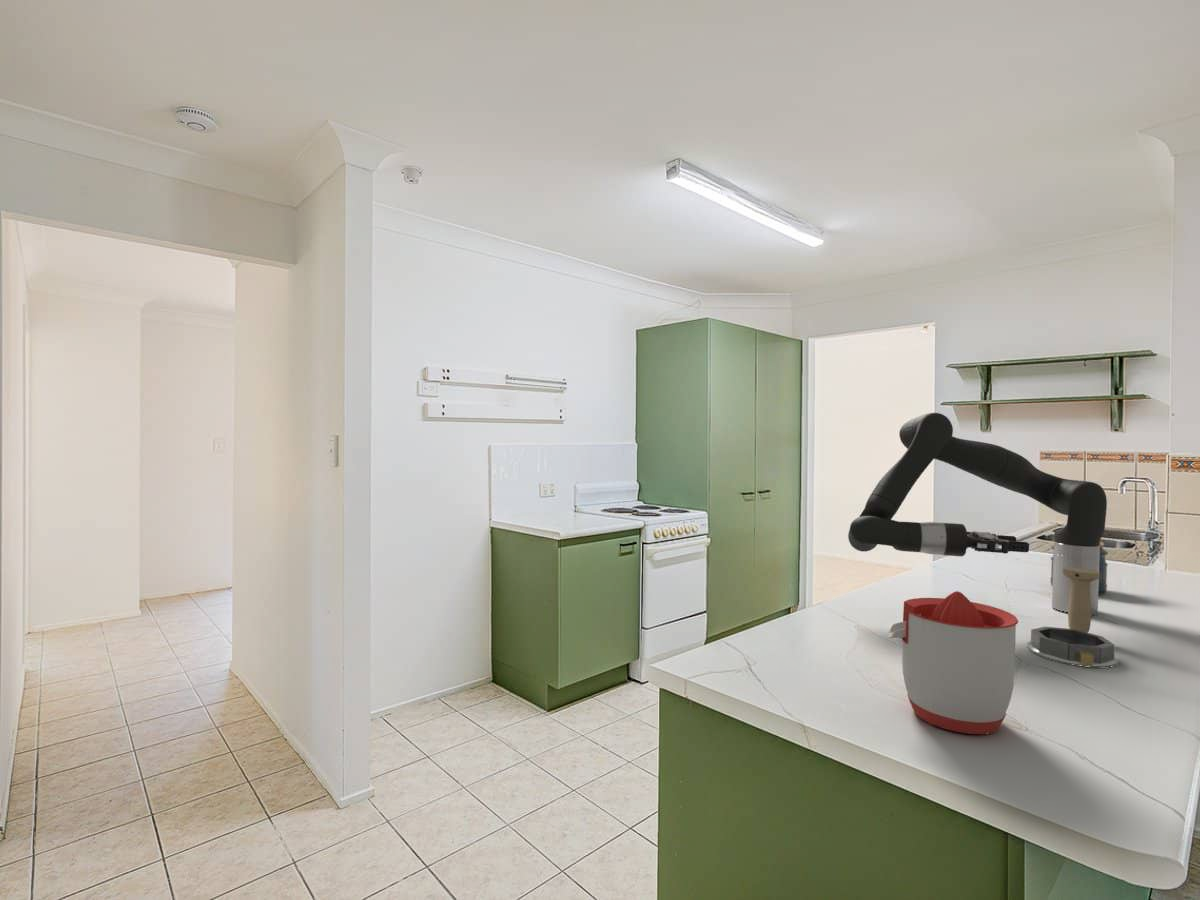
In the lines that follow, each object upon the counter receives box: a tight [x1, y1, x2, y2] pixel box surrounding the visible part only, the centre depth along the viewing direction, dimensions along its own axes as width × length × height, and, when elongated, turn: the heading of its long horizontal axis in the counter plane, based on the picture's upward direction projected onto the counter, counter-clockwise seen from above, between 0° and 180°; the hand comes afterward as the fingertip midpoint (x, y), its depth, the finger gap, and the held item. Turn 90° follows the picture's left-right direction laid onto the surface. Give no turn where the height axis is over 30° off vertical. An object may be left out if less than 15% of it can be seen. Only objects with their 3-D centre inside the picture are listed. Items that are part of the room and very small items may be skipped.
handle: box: [1062, 567, 1100, 633], centre depth 134 cm, size 5×6×15 cm
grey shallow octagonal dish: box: [1027, 626, 1118, 668], centre depth 124 cm, size 15×14×4 cm
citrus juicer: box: [888, 590, 1019, 735], centre depth 95 cm, size 16×17×20 cm
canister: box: [1049, 540, 1109, 595], centre depth 176 cm, size 13×13×18 cm
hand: (1021, 544), depth 137 cm, fingers open, 8 cm apart
